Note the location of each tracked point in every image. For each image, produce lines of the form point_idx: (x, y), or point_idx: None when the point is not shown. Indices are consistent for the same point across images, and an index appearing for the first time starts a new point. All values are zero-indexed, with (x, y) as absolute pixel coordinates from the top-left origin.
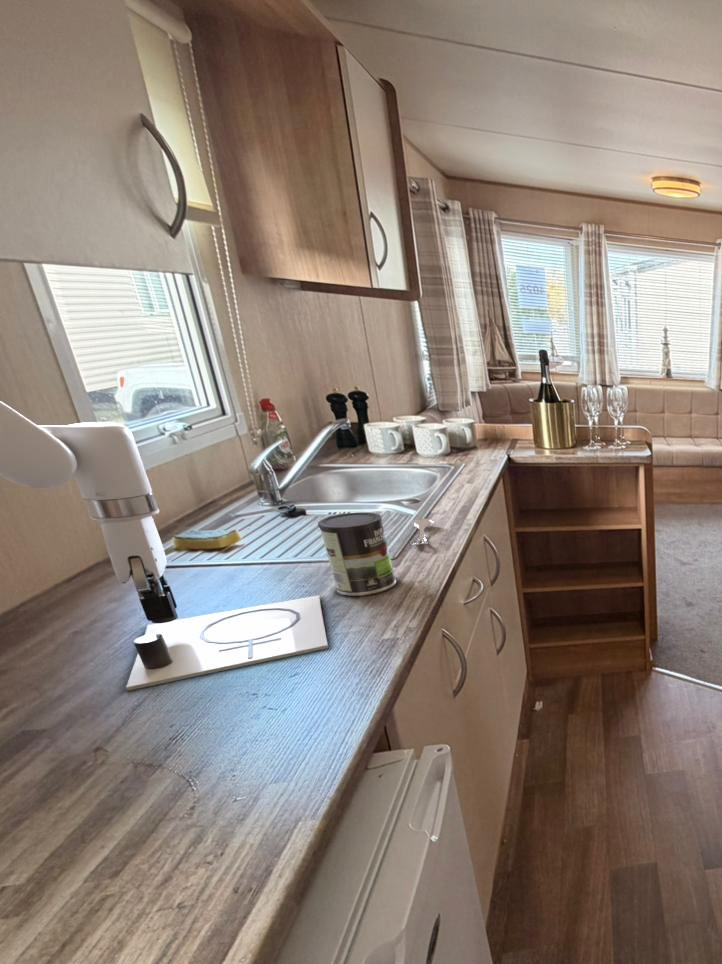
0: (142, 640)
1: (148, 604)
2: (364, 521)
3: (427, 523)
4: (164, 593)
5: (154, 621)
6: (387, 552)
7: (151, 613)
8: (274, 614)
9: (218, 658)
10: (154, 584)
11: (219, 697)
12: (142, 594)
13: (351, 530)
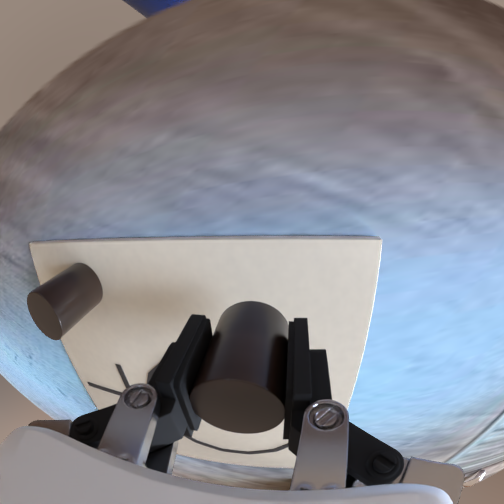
0: (36, 307)
1: (155, 375)
2: None
3: (464, 486)
4: (239, 426)
5: (222, 315)
6: None
7: (170, 347)
8: (268, 437)
9: (92, 357)
10: (295, 440)
11: (23, 332)
12: (100, 411)
13: None
